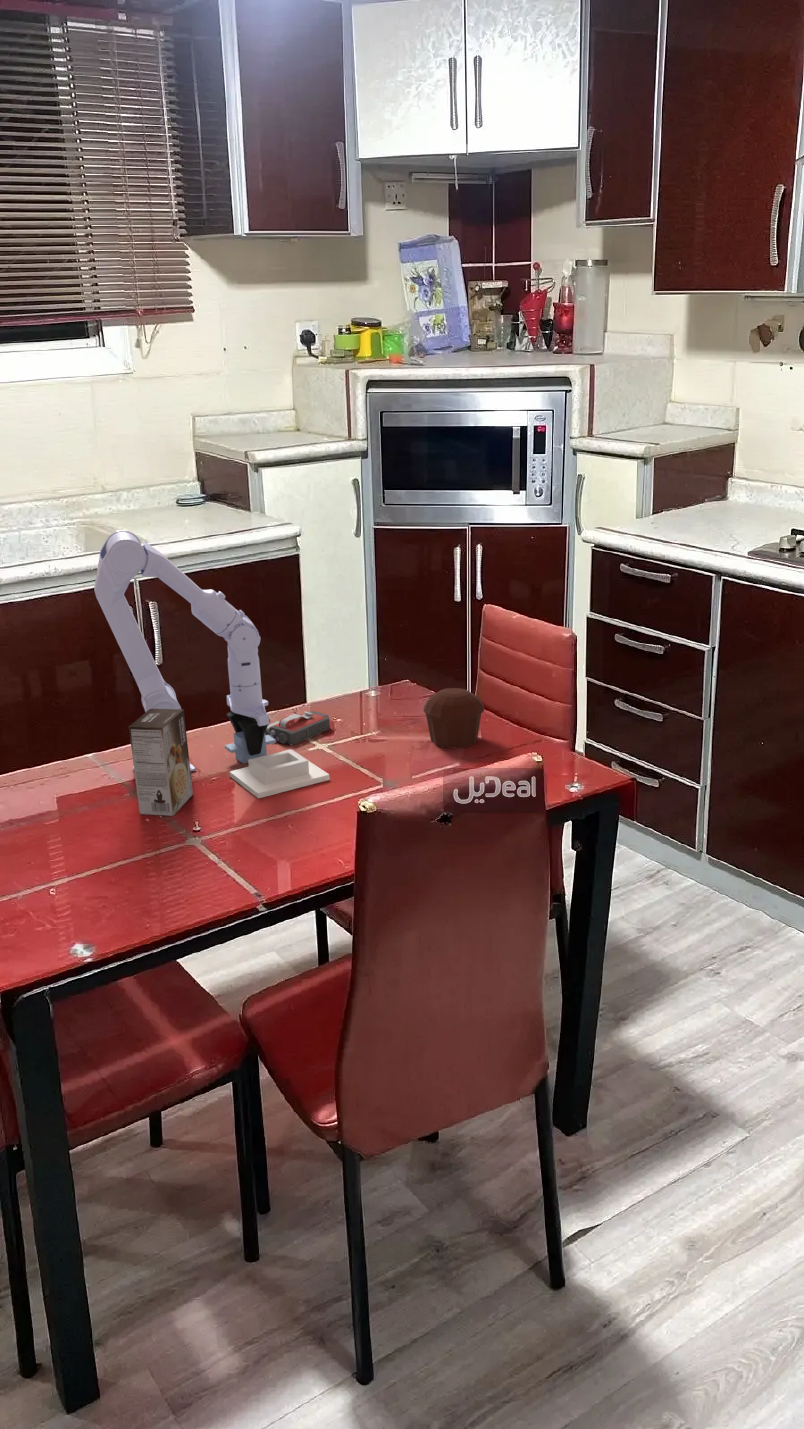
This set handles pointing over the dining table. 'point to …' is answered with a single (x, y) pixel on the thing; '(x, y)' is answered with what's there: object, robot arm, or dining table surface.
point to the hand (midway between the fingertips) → (250, 750)
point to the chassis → (278, 773)
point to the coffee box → (161, 761)
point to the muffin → (453, 717)
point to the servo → (241, 747)
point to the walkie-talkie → (298, 727)
